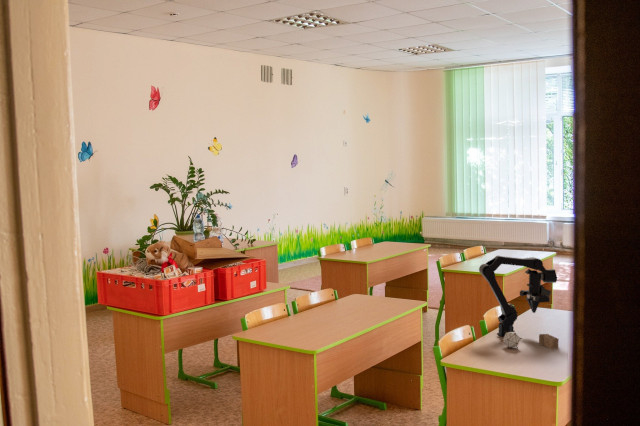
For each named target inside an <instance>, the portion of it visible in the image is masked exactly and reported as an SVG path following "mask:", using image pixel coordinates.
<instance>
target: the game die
mask: <svg viewBox="0 0 640 426" xmlns="http://www.w3.org/2000/svg"><path fill="white" fill-rule="evenodd" d="M505 332H506V331H505ZM522 339H523V338H522V337H520V336H518V334H517V333H516V331H515V330H513V332H506V334H505V336H504V337H502V340H501V341H500V342H503V343H504V344H505V345H506V346H507V349H508V350H509V349H510V348H517V349H518V348H519V347H518V345H519V343H520V340H522Z"/></svg>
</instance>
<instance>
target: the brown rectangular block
mask: <svg viewBox="0 0 640 426" xmlns="http://www.w3.org/2000/svg"><path fill="white" fill-rule="evenodd" d="M538 343H539V344H540V345H542V346H544V347H545V348H548V349H558V348H559V338H557V337H555V336H553V335H551V334H549V333H539V335H538Z"/></svg>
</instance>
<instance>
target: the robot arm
mask: <svg viewBox="0 0 640 426" xmlns="http://www.w3.org/2000/svg"><path fill="white" fill-rule="evenodd" d="M501 265H509V266H519V267H524V268H527V269H526V271H525V270H524V271H525V272H524V274H527V275H528V283H527V284H526V286H527V287H528V289H521V290H520V291H519V296H521V297H524V296H526V297H525V300H526V301H527V303H528V306H529V307H530V310H531V311H532V313H533V314H535V313H536V312H537V310H538V306H539V305H540V303H550V302H551V298H550V296H551V294H552V290H550V289H547V288H545V286H544V285H543V284H542V283H541V282H543V283H544V284H546V283H551V284H553V283H554V284H555V283H557V281H558V276H557V272H556V269H555V268H554V269H553V268H550V269H546V268H545V266H544V263H543V261H542V260H541V259H540V258H537V257H534V256H533V257H524V258H519V257H511V256H502V255H496V256H495V257H493V258H491V259H490V260H488V261H487V262H486V263H482V264H481V265H480V266H479V267H478V268H479V269H478V272H479V273H480V275H481V276H482V277H483V278H484V279H485V281H486V282H487V283H488V284H489V285H488V286H489V287H490V289H491V291H492V292H493V295H494V297H495V299H496V300H497V302H498V303H499V306H500V311H501V314H500V315H499V316H498V317H497V320H498V322H499V323H498V332H497V333H496V335H498V336H500V337H502V338H504V336H505V334H506V332H513V331H514V323H515V322H516V321H517V319H518V311H517V310H516V308H515V306H514V305H513V304H512V303H509V302H508V300H507V298H506V297H505V295H504V292H503V291H502V289H501V287H500V284H499V283H498V282H497V279H496V273H495V272H496V270H498V269H499V267H500V266H501ZM505 331H506V332H505Z"/></svg>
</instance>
